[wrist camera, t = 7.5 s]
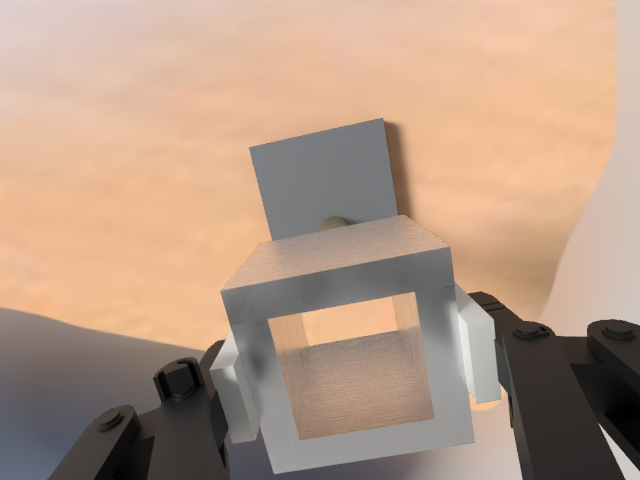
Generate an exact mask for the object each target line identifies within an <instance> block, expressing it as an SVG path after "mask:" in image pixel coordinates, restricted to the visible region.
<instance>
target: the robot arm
mask: <svg viewBox="0 0 640 480" xmlns="http://www.w3.org/2000/svg"><path fill="white" fill-rule="evenodd" d="M454 283H455V282H454ZM455 291H456V299H457V307H458V320H459V328H460V336H461V344H462V351H463V359H464V367H465V375H466V383H467V389H468V390H469V392H470V394H471V395H472V397H473V399H474V400H475V402H476V404H478V403H484V402H490V401H496V400H502V399H501V389H500V384H501V385H502V386H503V388H504V389H505V390H506V392H507V393H508V402H509V412H510V423H511V428H513V430H514V436H515V441H516V446H517V452H518V457H519V462H520V467H521V473H522V478H523V480H625V478H624V476H623V474H622V472H621V469H620V467H619V465H618V463H617V461H616V459H615V457H614V455H613V453H612V451H611V449H610V447H609V445H608V443H607V441H606V438H605V437H604V434H603V432H602V430H601V428H600V426H599V424H600V425H601V426H602V427H603V429H604V430H605V431H606V432H607V433H608V435H609V436H610V437H611V438H612V439H613V440H614V442H615V443H616V444H617V445H618V446H619V448H620V449H621V450H622V451H623V452H624V453H625V454H626V456H627V457H628V458H629V459H630V460H631V462H632V463H633V464H634V465H635V466H636V468H637V469H638V470H639V471H640V326H639V325H637V324H633V323H629V322H626V321H622V320H614V319H610V320H600V321H596V322H592V323H591V324H589V325H588V328H587V337H565V336H564V337H563V336H556V335H555V333H554V332H553V331H552V329H551V328H549V327H547V326H545V325H543V324H540V323H536V322H530V321H523V320H521V319H520V318H519V317H518V316H517V315H515V314H514V313H513V312H512V311H511V310H509V309H508V308H506V306H505V305H503V304H502V303H500V301H498V300H497V299H496V298H495V297H494V296H492V295H489V294H487V293H484V292H481V291H480V292H475V293H469V294H467V293H466V292H465V291H464V290H463V289H461V288H460V287H459V286H458V285H457V284H456V283H455ZM153 380H154V383H155V385H156V388H157V391H158V393H159V396H160V399H161V407H159V408H157V409H155V410H152V411H150V412H147V413H144V414H141V415H139V416H137V414H136V412H135V409H134V407H133V406H130V405H123V406H119V407H116V408H112V409H110V410H108V411H106V412H105V413H103V414H101V416H99V417H98V418H97V419H95V420H94V421H93V422H92V423H91V424H90V425H89V426H88V427H87V429H86V430H85V431H84V432H83V434H82V435H81V436H80V438H79V439H78V440H77V442H76V443H75V444H74V446H73V447H72V448H71V450H70V451H69V452H68V453H67V455H66V456H65V457H64V459H63V460H62V461H61V463H60V464H59V465H58V467H57V468H56V469H55V471H54V472H53V473H52V474H51V476H50V477H49V478H48V480H230V470H229V461H228V452H227V449H226V446H225V443H224V439H225V437H226V434H227V431H228V430H229V433H230V436H231V439H232V442H233V443H240V442H246V441H252V440H256V436H257V432H258V428H259V424H260V422H259V418H258V415H257V411H256V408H255V405H254V401H253V398H252V394H251V391H250V388H249V384H248V381H247V377H246V374H245V371H244V367H243V364H242V360H241V357H240V354H239V353H238V350H237V346H236V343H235V339H234V336H233V333H232V330H231V332H230V333H229V335H228V337H227V339H226V340H220V341H217V342H216V343H214V344H213V345H212V346H211V347H210V348H209V349H208V350H207V352H206V353H205V355H204V356H203V358H202V360H201V361H200V363H199V364H198V361H197V359H195V358H192V357H191V358H182V359H178V360H176V361H173V362H171V363H169V364H167V365H166V366H164V367H163V368H161V369H160V370H159V371H158V372H157V373H156V374H155V376H154V377H153ZM598 423H599V424H598Z"/></svg>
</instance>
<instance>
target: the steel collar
mask: <svg viewBox="0 0 640 480" xmlns="http://www.w3.org/2000/svg"><path fill="white" fill-rule="evenodd" d="M220 292H221V295H222V299H223V302H224V305H225V309H226V312H227V316H228V319H229V322H230V326H231V329H232V333H233V336H234V339H235V343H236V346H237V350H238V353H239V354H240V357H241V360H242V364H243V367H244V371H245V374H246V377H247V381H248V384H249V388H250V391H251V394H252V398H253V401H254V405H255V408H256V411H257V415H258V418H259V422H260V428H261V431H262V435H263V438H264V441H265V445H266V448H267V452H268V455H269V458H270V462H271V465H272V469H273V472H274V474H277V473H283V472H290V471H296V470H303V469H309V468H316V467H322V466H328V465H335V464H341V463H348V462H354V461H361V460H367V459H374V458H380V457H386V456H392V455H400V454H406V453H412V452H419V451H425V450H432V449H438V448H445V447H451V446H458V445H464V444H471V443H475V441H474V433H473V426H472V417H471V409H470V402H469V394H468V389H467V383H466V375H465V367H464V359H463V351H462V344H461V336H460V328H459V320H458V307H457V299H456V291H455V283H454V275H453V268H452V260H451V252H450V246H449V245H447V244H446V243H444V242H443V241H441V240H440V239H439V238H437V237H436V236H434V235H433V234H431V233H430V232H429V231H427V230H426V229H424V228H423V227H421V226H420V225H418V224H417V223H416V222H414V221H413V220H411V219H410V218H408V217H407V216H406V215H399V216H394V217H389V218H384V219H379V220H374V221H369V222H364V223H359V224H354V225H349V226H344V227H339V228H334V229H329V230H324V231H319V232H314V233H309V234H304V235H300V236H295V237H290V238H285V239H280V240H275V241H270V242H265V243H260V244H258V245H257V246H256V248H255V249H254V250H253V251H252V253H251V254H250V255H249V256H248V257H247V259H246V260H245V261H244V262H243V264H242V265H241V266H240V267H239V268H238V270H237V271H236V272H235V273H234V275H233V276H232V277H231V278H230V279H229V281H228V282H227V283H226V284H225V286H224V287H223V288H222V289H221V290H220ZM389 296H392V300H393V306H394V312H395V318H396V323H397V329H398V331H392V332H386V333H381V334H375V335H370V336H364V337H358V338H353V339H347V340H342V341H336V342H330V343H325V344H319V345H314V346H309V345H308V341H307V336H306V332H305V328H304V324H303V320H302V316H301V313H303V312H308V311H314V310H319V309H324V308H330V307H335V306H341V305H346V304H351V303H357V302H362V301H367V300H373V299H378V298H384V297H389Z"/></svg>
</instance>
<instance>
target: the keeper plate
mask: <svg viewBox="0 0 640 480" xmlns="http://www.w3.org/2000/svg"><path fill="white" fill-rule="evenodd" d="M249 149H250V153H251V157H252V161H253V165H254V169H255V173H256V177H257V181H258V185H259V189H260V193H261V197H262V201H263V205H264V209H265V213H266V217H267V221H268V225H269V229H270V233H271V237H272V241H275V240H280V239H285V238H290V237H295V236H300V235H304V234H309V233H314V232H319V231H320V229H321V225H322V223H323V222H324V221H325V220H326V219H328V218H330V217H334V216H337V217H341V218H343V219H344V220H346V221H347V223H348V224H349V225H354V224H359V223H364V222H369V221H374V220H379V219H384V218H389V217H394V216H398V210H397V204H396V198H395V191H394V185H393V179H392V172H391V166H390V160H389V153H388V147H387V141H386V134H385V128H384V122H383V118H380V119H376V120H371V121H366V122H362V123H357V124H353V125H348V126H344V127H339V128H335V129H330V130H326V131H321V132H317V133H312V134H308V135H303V136H299V137H294V138H290V139H285V140H281V141H276V142H272V143H267V144H263V145H258V146H254V147H249Z"/></svg>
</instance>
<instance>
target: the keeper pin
mask: <svg viewBox="0 0 640 480" xmlns="http://www.w3.org/2000/svg"><path fill="white" fill-rule="evenodd" d="M344 226H349V224H348V223H347V221H346V220H344V219H343V218H341V217H337V216H334V217H330V218H328V219H326V220H325V221H324V222H323V223H322V225H321V229H320V231H324V230H329V229H334V228H339V227H344Z"/></svg>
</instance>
